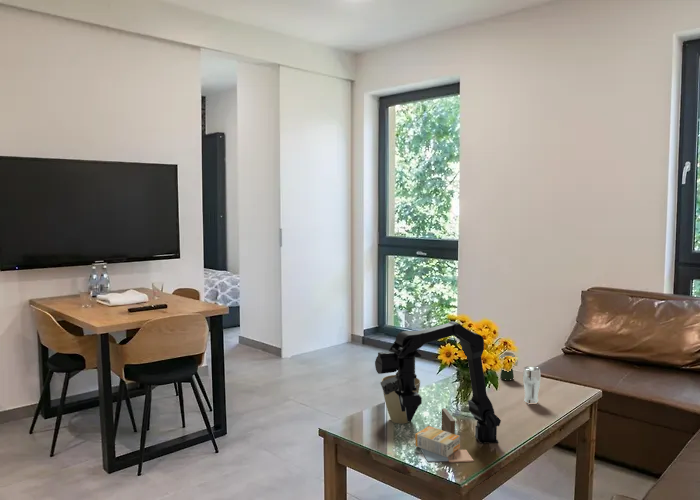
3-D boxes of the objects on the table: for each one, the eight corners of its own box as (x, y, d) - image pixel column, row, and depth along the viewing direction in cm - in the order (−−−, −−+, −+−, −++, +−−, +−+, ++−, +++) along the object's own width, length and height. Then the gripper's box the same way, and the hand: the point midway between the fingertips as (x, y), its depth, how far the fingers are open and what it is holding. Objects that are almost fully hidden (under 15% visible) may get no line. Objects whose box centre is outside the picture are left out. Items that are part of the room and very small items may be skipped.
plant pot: (375, 423, 210) (375, 383, 209) (389, 411, 223) (389, 372, 222) (412, 430, 203) (413, 388, 202) (424, 417, 217) (425, 377, 216)
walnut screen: (450, 432, 202) (450, 408, 201) (459, 445, 190) (460, 420, 189) (436, 432, 201) (437, 408, 201) (445, 446, 189) (445, 421, 189)
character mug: (521, 380, 263) (521, 354, 262) (513, 384, 258) (513, 357, 257) (501, 375, 271) (501, 350, 270) (493, 378, 266) (493, 352, 265)
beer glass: (541, 402, 234) (542, 367, 233) (537, 407, 228) (538, 371, 227) (525, 399, 238) (525, 365, 237) (520, 403, 232) (521, 369, 231)
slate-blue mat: (449, 447, 189) (449, 446, 189) (457, 460, 179) (457, 459, 179) (420, 448, 188) (420, 447, 188) (427, 462, 178) (427, 460, 178)
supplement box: (428, 424, 194) (460, 435, 185) (428, 437, 195) (460, 448, 186) (414, 433, 188) (447, 444, 179) (415, 446, 189) (447, 458, 180)
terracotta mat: (466, 450, 186) (466, 449, 186) (473, 461, 178) (473, 460, 178) (443, 451, 185) (443, 450, 185) (449, 462, 177) (449, 461, 177)
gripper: (378, 363, 190) (377, 407, 191) (387, 379, 171) (387, 428, 172) (409, 362, 191) (409, 406, 192) (422, 378, 173) (421, 426, 174)
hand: (406, 416), depth 183 cm, fingers open, 9 cm apart
